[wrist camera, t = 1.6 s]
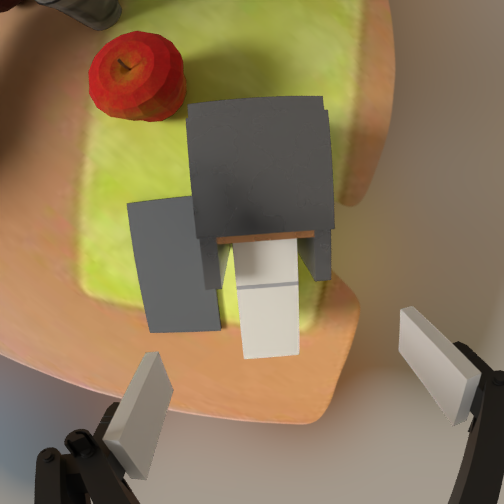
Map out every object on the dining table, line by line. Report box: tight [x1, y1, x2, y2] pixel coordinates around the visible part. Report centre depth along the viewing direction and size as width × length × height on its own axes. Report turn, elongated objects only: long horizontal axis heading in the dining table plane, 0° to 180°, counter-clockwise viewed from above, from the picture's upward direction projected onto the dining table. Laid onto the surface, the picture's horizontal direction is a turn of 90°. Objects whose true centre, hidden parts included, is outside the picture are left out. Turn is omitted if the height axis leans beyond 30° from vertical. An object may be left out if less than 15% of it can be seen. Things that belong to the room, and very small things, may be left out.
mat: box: [127, 196, 221, 333], centre depth 35 cm, size 9×16×1 cm, turn 4°
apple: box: [88, 31, 186, 122], centre depth 24 cm, size 9×8×12 cm
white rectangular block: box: [232, 238, 299, 359], centre depth 30 cm, size 5×14×10 cm, turn 4°
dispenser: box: [186, 96, 335, 290], centre depth 26 cm, size 9×13×13 cm
